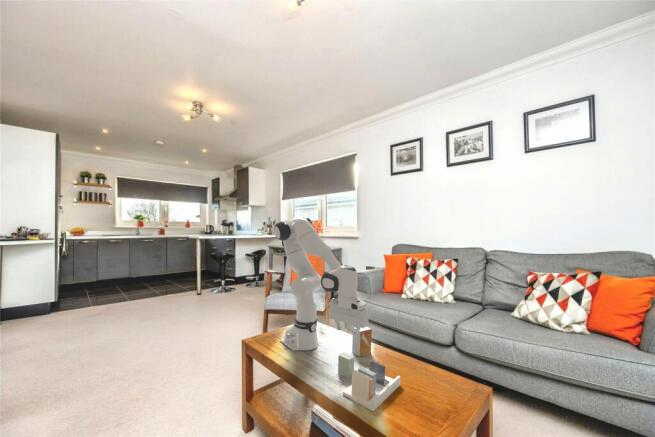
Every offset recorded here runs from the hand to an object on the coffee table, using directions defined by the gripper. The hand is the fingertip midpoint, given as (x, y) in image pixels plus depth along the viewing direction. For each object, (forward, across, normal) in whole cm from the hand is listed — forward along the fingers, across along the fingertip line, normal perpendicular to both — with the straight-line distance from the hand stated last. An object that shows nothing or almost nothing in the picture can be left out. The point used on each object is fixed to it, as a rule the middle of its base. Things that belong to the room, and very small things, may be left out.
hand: (347, 332), depth 121 cm
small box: (+19, -7, +22) cm, 30 cm away
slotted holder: (+19, +14, -2) cm, 24 cm away
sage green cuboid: (+18, 0, 0) cm, 19 cm away
